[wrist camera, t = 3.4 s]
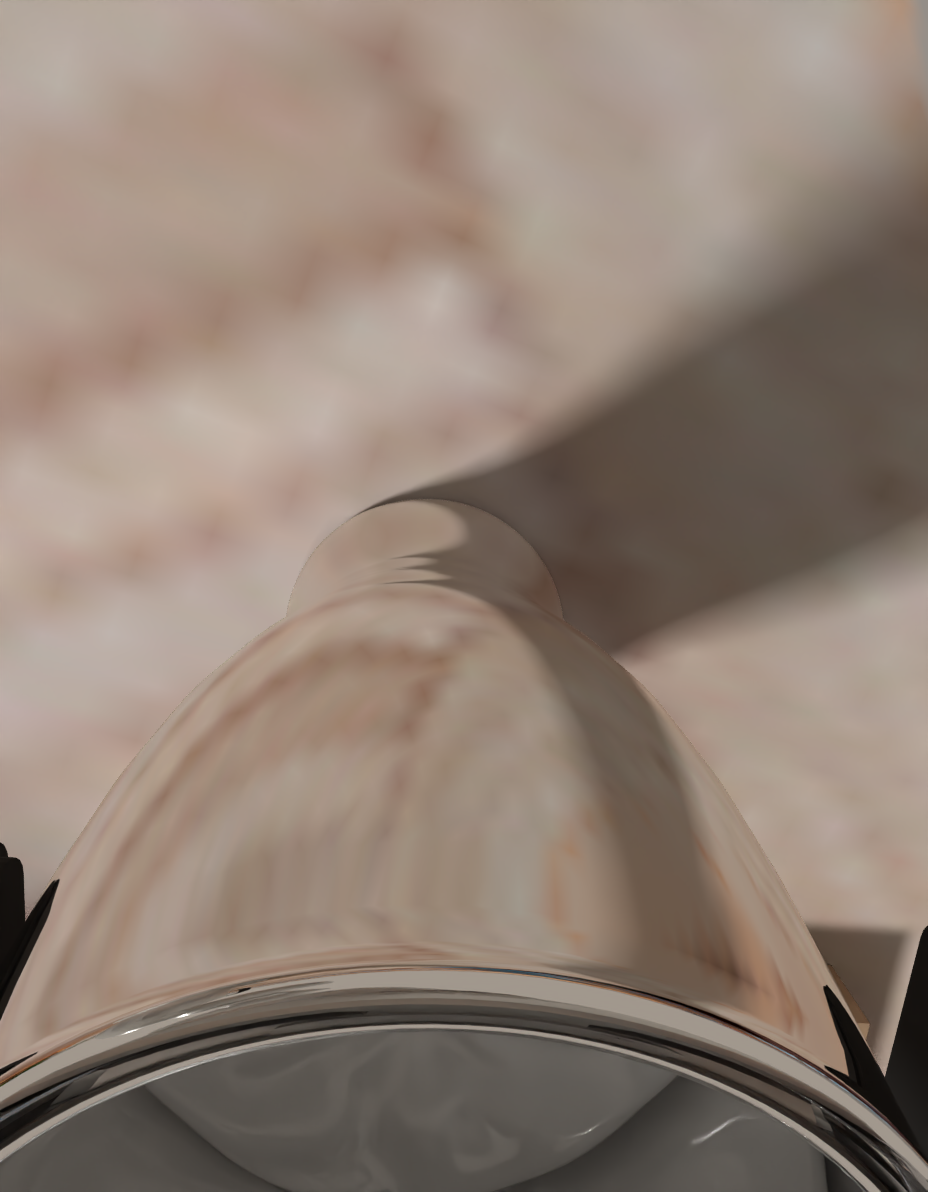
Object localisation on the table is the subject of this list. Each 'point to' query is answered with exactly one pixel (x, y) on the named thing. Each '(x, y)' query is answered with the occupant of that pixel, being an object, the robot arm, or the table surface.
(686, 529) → the table surface
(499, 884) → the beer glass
